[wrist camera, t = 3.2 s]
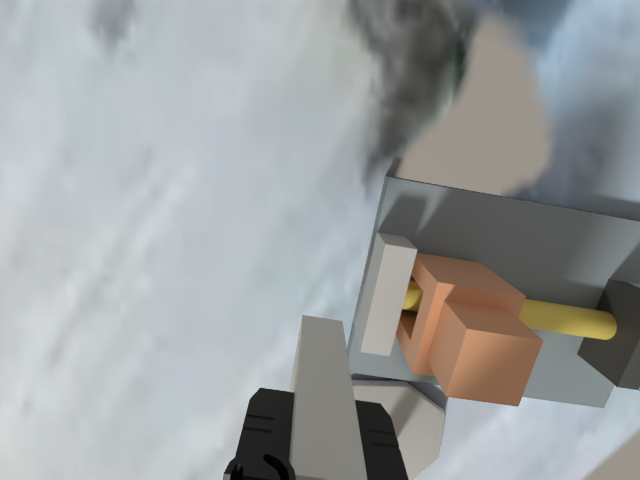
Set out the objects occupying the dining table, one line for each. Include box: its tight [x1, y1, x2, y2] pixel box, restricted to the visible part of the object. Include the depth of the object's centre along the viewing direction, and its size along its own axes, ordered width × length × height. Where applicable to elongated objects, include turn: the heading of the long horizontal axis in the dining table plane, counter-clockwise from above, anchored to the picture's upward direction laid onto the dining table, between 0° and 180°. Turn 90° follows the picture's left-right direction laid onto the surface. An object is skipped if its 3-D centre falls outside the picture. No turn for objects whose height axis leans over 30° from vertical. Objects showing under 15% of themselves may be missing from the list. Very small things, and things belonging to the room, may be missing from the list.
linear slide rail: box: [347, 176, 640, 408], centre depth 19 cm, size 12×17×5 cm
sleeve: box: [395, 253, 544, 406], centre depth 17 cm, size 5×4×7 cm
